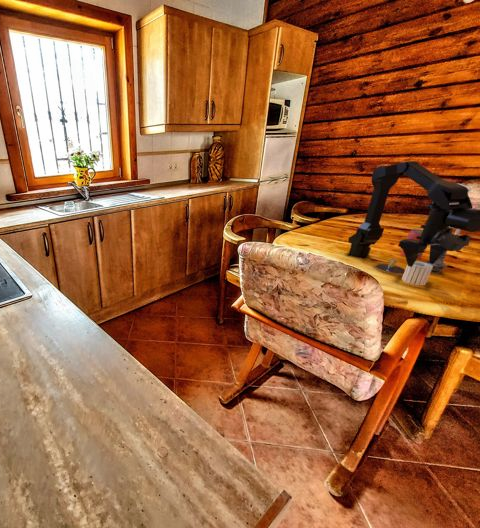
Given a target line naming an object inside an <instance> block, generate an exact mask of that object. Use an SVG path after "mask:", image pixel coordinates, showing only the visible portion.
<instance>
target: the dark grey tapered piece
mask: <svg viewBox="0 0 480 528" xmlns="http://www.w3.org/2000/svg"><path fill="white" fill-rule="evenodd" d="M447 253H448V251H446V252H445V253H444V254H443V255H442V256H441V257H440V258H439V259H438V260H437V261H436V262H435V263H434V264H431V263H429V260H426V261H425V262H424V263H428V264H430V265H432V266H433V268H432V270H431V272H430V274H431V273H432V274H441V273H442V272H441V271H443V270H444V269H445V268H446V267H447V266H448V265H447V264H446V263H444V261H445V258H446V257H447Z"/></svg>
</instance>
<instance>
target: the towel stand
mask: <svg viewBox="0 0 480 528" xmlns="http://www.w3.org/2000/svg"><path fill="white" fill-rule="evenodd" d="M397 261H398V259H396V258H390V259H389V261H388V263H387V264H386V263H378V264H376V268H377V269H379V271H383V272H387V273H390V274H391V273H392V274H404V272H405V269H404V268H403V267H400V266H399V265H398V266H397V265H396V264H397Z"/></svg>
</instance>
